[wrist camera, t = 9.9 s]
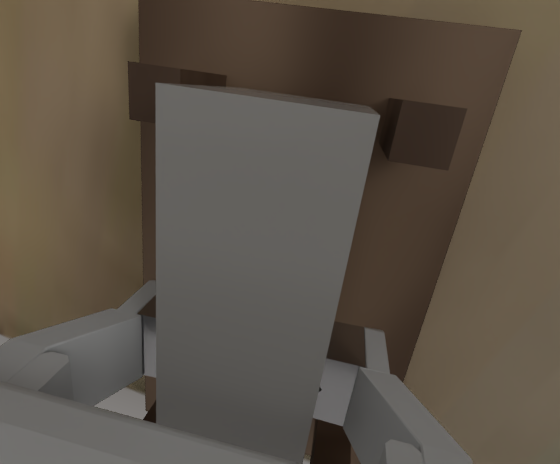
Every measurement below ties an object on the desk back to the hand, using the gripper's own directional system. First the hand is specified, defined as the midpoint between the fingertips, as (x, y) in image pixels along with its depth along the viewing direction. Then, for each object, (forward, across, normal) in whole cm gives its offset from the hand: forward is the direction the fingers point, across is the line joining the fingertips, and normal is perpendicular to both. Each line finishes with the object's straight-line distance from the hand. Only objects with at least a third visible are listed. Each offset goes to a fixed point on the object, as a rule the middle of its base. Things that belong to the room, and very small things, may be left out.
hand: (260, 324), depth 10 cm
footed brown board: (+4, 0, 0) cm, 4 cm away
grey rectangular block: (+2, 0, 0) cm, 2 cm away
